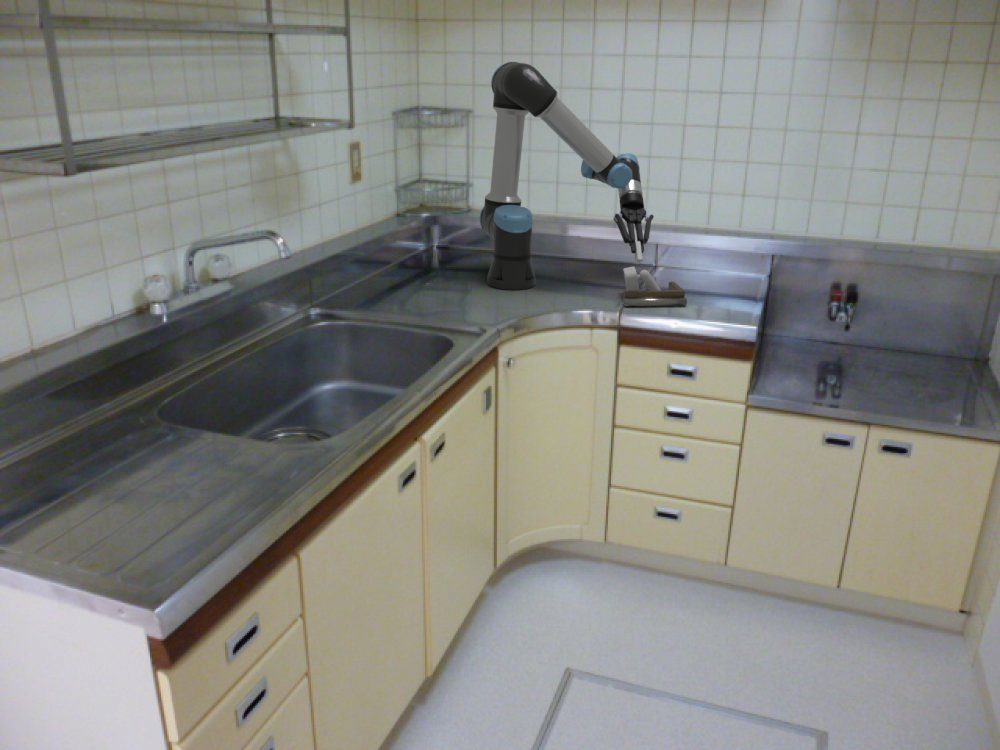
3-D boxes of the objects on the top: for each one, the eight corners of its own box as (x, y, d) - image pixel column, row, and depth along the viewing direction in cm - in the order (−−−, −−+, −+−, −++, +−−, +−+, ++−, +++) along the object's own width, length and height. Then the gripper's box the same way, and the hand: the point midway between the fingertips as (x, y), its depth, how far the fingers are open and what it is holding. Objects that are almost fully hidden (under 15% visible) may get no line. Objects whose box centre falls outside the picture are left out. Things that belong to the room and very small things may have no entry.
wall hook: (665, 299, 247) (660, 267, 244) (630, 306, 248) (625, 274, 245) (661, 292, 255) (656, 260, 251) (627, 298, 256) (622, 267, 252)
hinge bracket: (626, 307, 241) (627, 294, 239) (615, 294, 253) (616, 282, 251) (686, 307, 243) (687, 293, 241) (672, 294, 255) (673, 281, 253)
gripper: (647, 205, 273) (656, 268, 263) (608, 204, 271) (615, 267, 262) (653, 191, 266) (662, 255, 257) (614, 190, 264) (621, 254, 255)
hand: (639, 261), depth 259 cm, fingers closed
